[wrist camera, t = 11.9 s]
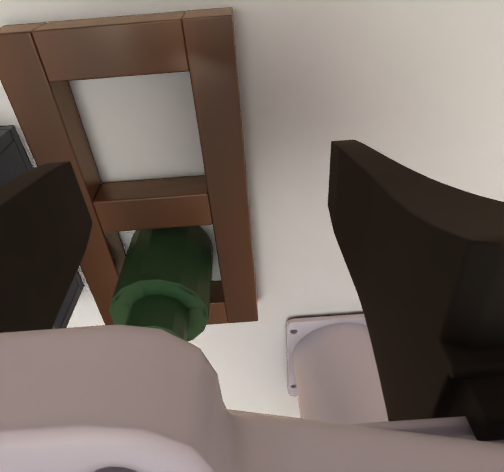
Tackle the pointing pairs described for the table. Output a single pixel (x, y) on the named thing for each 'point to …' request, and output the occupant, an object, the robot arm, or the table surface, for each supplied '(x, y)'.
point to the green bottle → (166, 281)
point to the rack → (146, 191)
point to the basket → (9, 167)
